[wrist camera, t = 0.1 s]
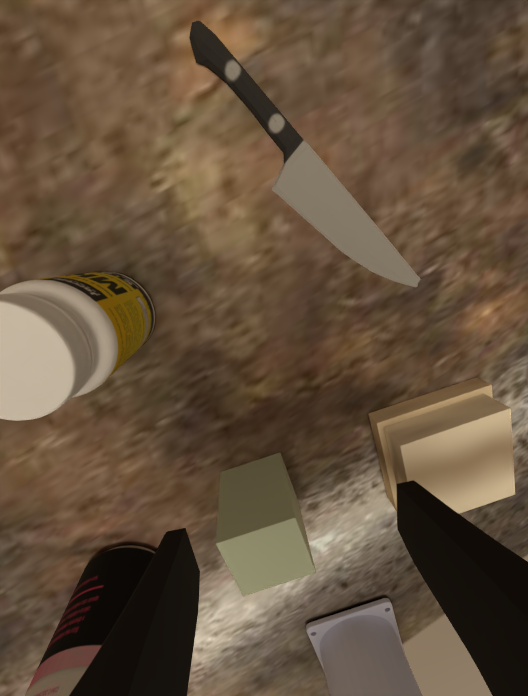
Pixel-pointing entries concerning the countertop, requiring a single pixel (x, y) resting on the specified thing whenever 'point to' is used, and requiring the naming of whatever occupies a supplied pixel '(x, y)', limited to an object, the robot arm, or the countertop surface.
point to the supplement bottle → (66, 338)
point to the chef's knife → (306, 172)
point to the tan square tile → (457, 452)
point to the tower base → (414, 409)
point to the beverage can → (89, 618)
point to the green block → (261, 526)
